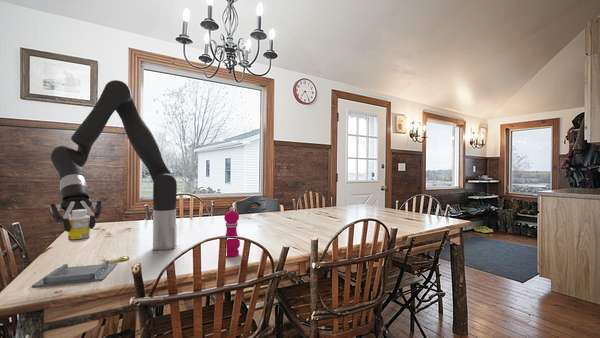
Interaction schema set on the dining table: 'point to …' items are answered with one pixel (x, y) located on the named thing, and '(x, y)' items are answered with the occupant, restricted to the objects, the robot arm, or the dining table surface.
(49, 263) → the dining table surface
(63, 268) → the dark grey tray
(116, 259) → the brass lever handle
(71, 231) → the supplement bottle
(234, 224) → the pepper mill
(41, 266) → the dining table surface
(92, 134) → the robot arm
